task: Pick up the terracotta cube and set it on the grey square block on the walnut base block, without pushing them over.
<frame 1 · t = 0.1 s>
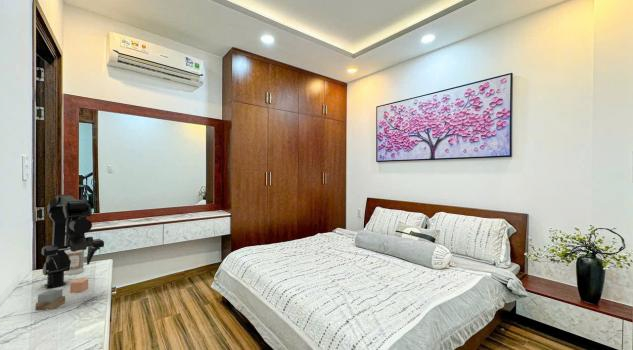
hand: (73, 267, 110), 15 cm above the dresser top, tool pointing down, fingers open, 9 cm apart
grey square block: (50, 299, 106), point 3 cm above the dresser top, touching walnut base block
terracotta cube: (79, 290, 120), on the dresser top
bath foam: (74, 273, 141), on the dresser top
walnut base block: (50, 306, 105), on the dresser top, touching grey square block
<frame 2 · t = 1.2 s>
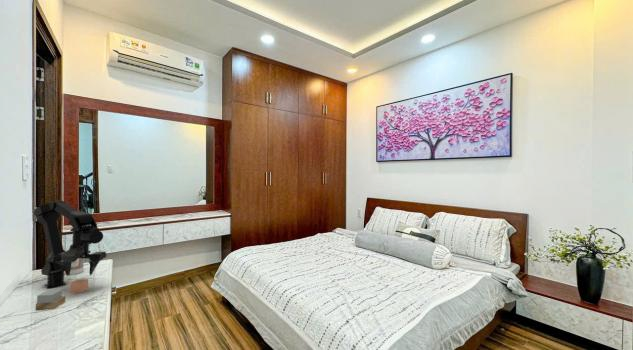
hand: (79, 275, 120), 7 cm above the dresser top, tool pointing down, fingers open, 9 cm apart
nothing on the dresser top moved.
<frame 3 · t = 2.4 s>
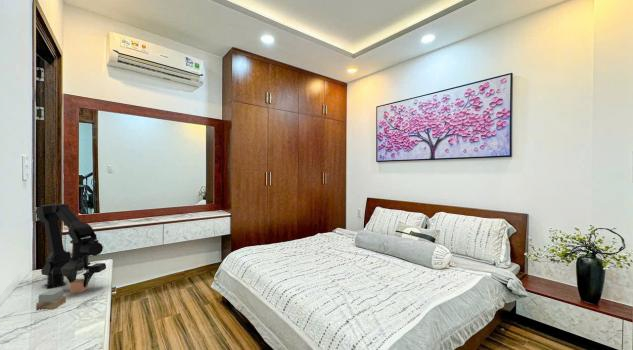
hand: (79, 287, 120), 2 cm above the dresser top, tool pointing down, fingers closed on terracotta cube, 4 cm apart
terracotta cube: (79, 290, 120), on the dresser top, touching gripper
everything else where it was.
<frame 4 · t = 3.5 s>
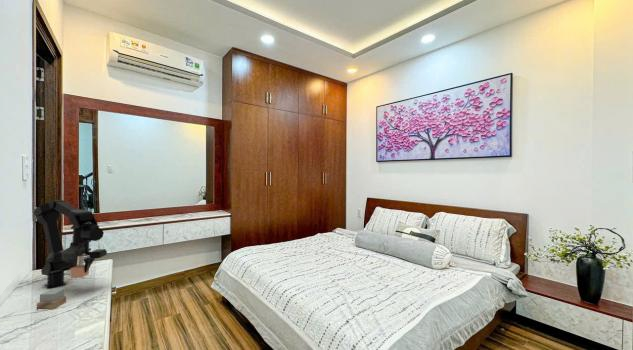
hand: (80, 272, 120), 8 cm above the dresser top, tool pointing down, fingers closed on terracotta cube, 4 cm apart
terracotta cube: (79, 276, 120), point 7 cm above the dresser top, touching gripper
everything else where it was.
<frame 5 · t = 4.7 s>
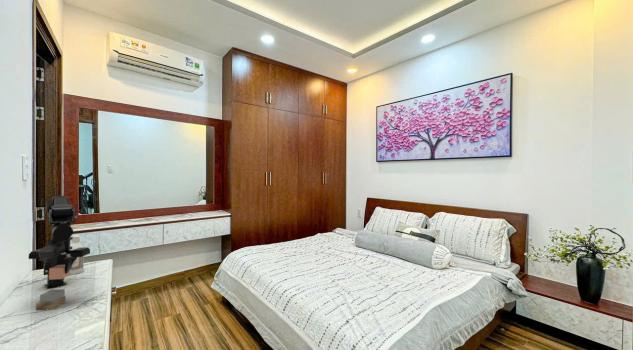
hand: (59, 273, 109), 12 cm above the dresser top, tool pointing down, fingers closed on terracotta cube, 4 cm apart
terracotta cube: (59, 277, 109), point 10 cm above the dresser top, touching gripper
everything else where it was.
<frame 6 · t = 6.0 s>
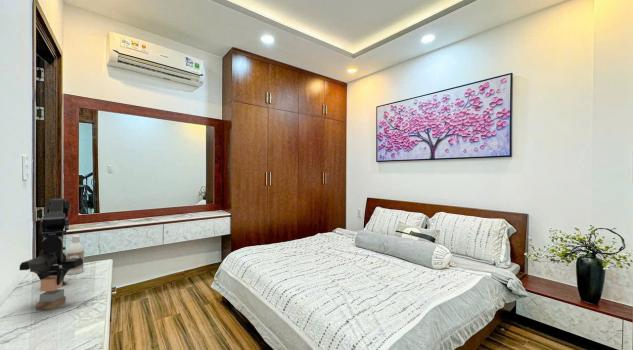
hand: (51, 285, 106), 8 cm above the dresser top, tool pointing down, fingers closed on terracotta cube, 4 cm apart
terracotta cube: (51, 288, 106), point 7 cm above the dresser top, touching gripper
everything else where it was.
when the fingers open (8 cm above the dresser top, at t = 6.7 s): terracotta cube drops 1 cm, resting on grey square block.
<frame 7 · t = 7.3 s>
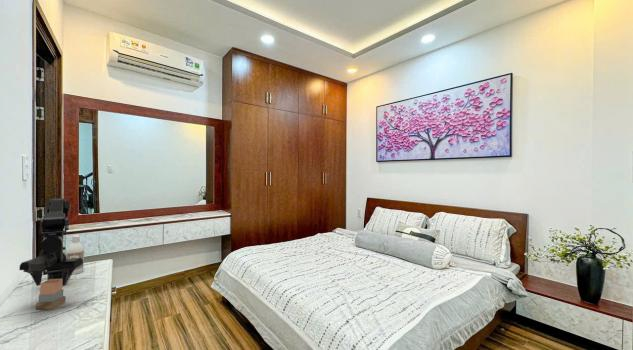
hand: (51, 285, 106), 8 cm above the dresser top, tool pointing down, fingers open, 9 cm apart
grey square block: (51, 299, 105), point 3 cm above the dresser top, touching terracotta cube, walnut base block
terracotta cube: (51, 292, 105), point 6 cm above the dresser top, touching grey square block
everything else where it was.
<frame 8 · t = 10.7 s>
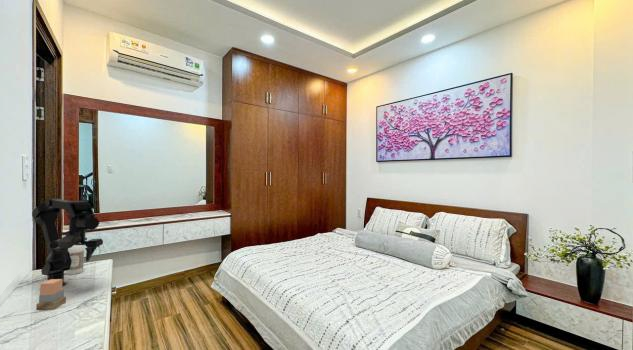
hand: (76, 261, 121), 13 cm above the dresser top, tool pointing down, fingers open, 9 cm apart
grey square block: (51, 299, 106), point 3 cm above the dresser top, touching walnut base block
terracotta cube: (51, 292, 105), point 6 cm above the dresser top
everything else where it was.
at the end: terracotta cube 0.2 cm off-centre on the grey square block, point 3.0 cm above the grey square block's base; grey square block 0.3 cm off-centre on the walnut base block, point 3.0 cm above the walnut base block's base; walnut base block moved 0.6 cm from its start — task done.
